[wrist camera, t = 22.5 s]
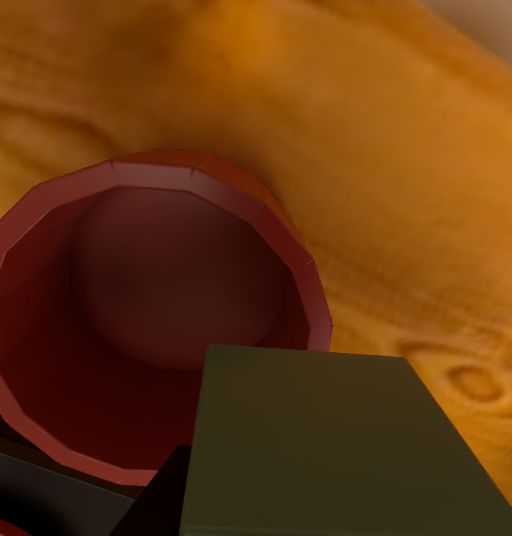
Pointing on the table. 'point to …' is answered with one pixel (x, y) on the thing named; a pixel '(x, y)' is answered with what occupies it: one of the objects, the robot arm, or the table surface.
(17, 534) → the lid
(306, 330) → the bowl
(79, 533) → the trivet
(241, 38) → the table surface
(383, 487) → the block
